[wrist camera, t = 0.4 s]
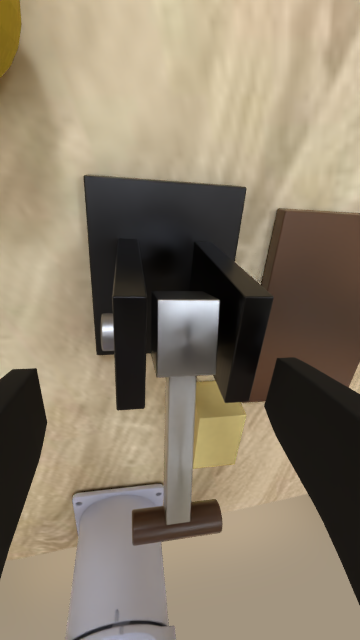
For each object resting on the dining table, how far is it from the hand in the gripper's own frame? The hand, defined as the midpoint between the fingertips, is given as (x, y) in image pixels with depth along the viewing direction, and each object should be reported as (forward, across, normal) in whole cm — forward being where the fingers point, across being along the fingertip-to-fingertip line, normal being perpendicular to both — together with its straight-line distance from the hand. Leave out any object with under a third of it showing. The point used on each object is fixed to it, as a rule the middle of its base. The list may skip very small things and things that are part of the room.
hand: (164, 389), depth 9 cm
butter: (+10, -5, +10) cm, 15 cm away
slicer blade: (+3, -1, +4) cm, 5 cm away
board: (+10, -12, +2) cm, 16 cm away
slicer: (+10, -1, 0) cm, 10 cm away
